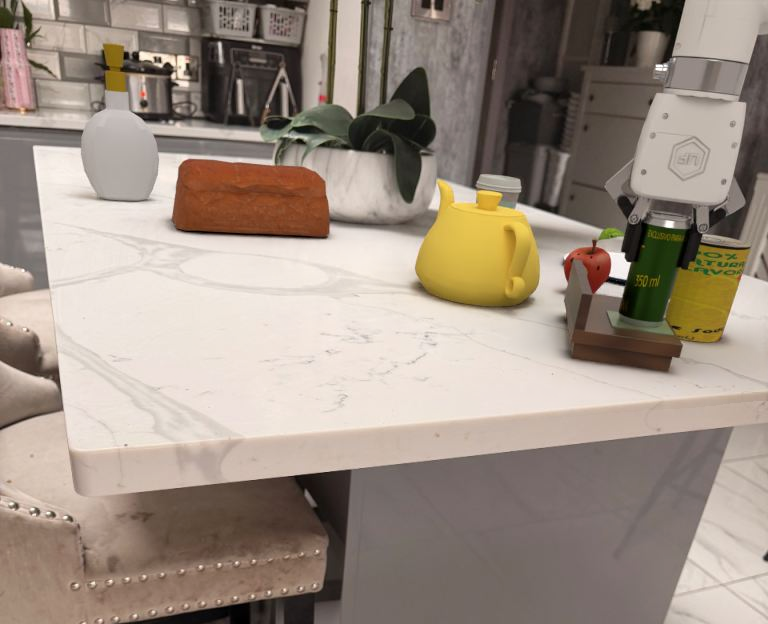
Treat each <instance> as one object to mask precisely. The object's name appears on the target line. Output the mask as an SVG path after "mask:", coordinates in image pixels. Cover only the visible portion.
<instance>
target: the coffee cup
mask: <svg viewBox="0 0 768 624" xmlns="http://www.w3.org/2000/svg"><path fill="white" fill-rule="evenodd" d="M475 187H476V192H477V191H481V190H483V191H493V192H498V193H501V194H502V198H501V200H500V202H499V204H498V206H501V207H506V208H511V209H515V210H516V207H517V203H518V200H519V196H520V193H521V192H522V183H521V179H520V178H517V177H514V176H513V177H512V176H507V175H501V174H490V173H488V174H487V173H483V174H480V175H479V177H478V179H477V181H476V184H475ZM475 203H478V201H477V195H476V196H475Z"/></svg>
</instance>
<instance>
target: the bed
mask: <svg viewBox="0 0 768 624" xmlns="http://www.w3.org/2000/svg"><path fill="white" fill-rule="evenodd" d="M566 285H567V286H566V290H565V295H564V299H563V302H564V308H565V315H564V320H565V323H567V327H568V332H569V338H570V339H569V340H570V342H571V347H570V358H572V359H580V360H585V361H593V362H599V363H605V364H612V365H620V366H627V367H631V368H638V369H646V370H652V371H653V370H655V371H660V372H665V373H669V371H670V367H671V363H672V361H673V358H676V359H680V357H681V354H682V350H683V347H684V344H683V342H682V341H681V339H680V338H678V336H677V334H676V333H675V331H674V330H673V328H672V326H671V325H670V323H669V321H668V320H667V318H666V317H665V320H664V322H663V323H662V324H661V325H660V326H659V327H655V328H648V327H640V326H635V325H631V324H628V323H625V322H623V321H621V320H620V319H619V313H618V312H619V308H620V304H621V300H622V296H613V295H606V294H599V293H595V294H593V293H592V291H591V288H590V284H589V281H588V278H587V275H586V272H585V269H584V266H583V262H582V260H575V259H573V262H572V266H571V271H570V276H569V280H568V283H567V284H566Z"/></svg>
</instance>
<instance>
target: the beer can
mask: <svg viewBox="0 0 768 624" xmlns="http://www.w3.org/2000/svg"><path fill="white" fill-rule="evenodd" d="M644 214H645V215H644V216H643V217H642V218H641V219H642V220H641V224H640V225H641V226H642V232H641V236H640V239H639V243H638V247H637V251H636V255H635V259H634V262H633V261H632V263H631V264H630V268H629V272H628V276H627V280H626V283H625V284H624V288H623V292H622V296H621V298H622V300H621V304H620V308H619V312H618V313H619V319H620V320H621V321H623V322H625V323H628V324H631V325H635V326H640V327H648V328H655V327H659V326H660V325H661V324H662V323H663V322H664V320H665V317H666V314H667V310H668V307H669V303H670V300H671V296H672V293H673V289H674V285H675V282H676V278H677V275H678V271H679V268H680V264H681V261H682V257H683V254H684V250H685V247H686V243H687V240H688V236H689V233H690V229H691V227H690V226H691V221H692V217H691V216H689V215H685V214H681V213H676V212H672V211H665V210H663V211H662V210H645V212H644Z"/></svg>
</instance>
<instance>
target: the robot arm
mask: <svg viewBox="0 0 768 624" xmlns="http://www.w3.org/2000/svg"><path fill="white" fill-rule="evenodd" d="M683 5H684V6H683V9H682V14H681V18H680V22H679V26H678V29H677V34H676V37H675V42H674V46H673V50H672V54H671V57H670V58H669V61H667V62H663V63H655V64H654V67H653V71H652V75H651V77H652V79H655V80H658V81H660V82H661V83H662V84H663V85H662V88H663V90H662V92H656V93H655V95H654V98H653V100H652V102H651V105H650V107H649V108H648V112H647V115H646V118H645V119H644V122H643V126H642V128H641V132H640V135H639V138H638V141H637V144H636V148H635V151H634V154H633V157H632V159H631V160H629V161H628V162H627V163H626V164H625V165H623V167H622V168H620V170H618V171H617V172H616V173H615V174H614V175H612V176H611V177H610V178H608V180H607V181H606V182H605V183H604V189H605V190H606V191H607V193H608V194H609V195H610V197H611V198H612V199H613V201H614V202H615V203H616V205H617V206H618V208H619V209H620V211H621V213H622V214H623V215H624V217H625V219H626V220H627V222H626V223H627V224H626V227H625V232H624V233H625V235H624V236H623V238H622V243H621V246H620V247H621V248H620V253H623V254H625V257H624V258H625V260H626V261H627V262H631V263H632V261H633V262H634V259H635V255H636V251H637V247H638V243H639V239H640V236H641V232H642V226H641V225H640V224H641V221H642V219H643V215H644V214H645V213H646V211H647V209H648V207H649V205H650V204H651V202H652V200H660V201H666V202H672V203H673V202H674V203H682V204H690V205H691V216H692V217H691V219H692V223H690V227H691V229H690V233H689V236H688V240H687V243H686V247H685V250H684V254H683V257H682V261H681V264H680V268H681V269H683V270H687V269H688V267H689V263H690V261H691V262H694V261H695V259H696V256H697V253H698V249H699V246H700V243H701V239H702V236H703V234H707V232H708V231H709V229H711V228H712V227H714V226H715V225H717V224H718V223H720V222H721V221H722V220H725V218H726V217H728V216H730V215H732V214H734V213H735V212H736V211H738V210H740V209H742V208H743V207H745V205H746V199H745V197H744V194H743V192H742V190H741V188H740V186H739V183H738V182H737V181H738V180H736V178H735V177H736V176H735V170H736V165H737V161H738V156H739V152H740V147H741V142H742V137H743V131H744V127H745V120H746V112H747V102H744V101H739V100H740V97H741V93H742V89H743V86H744V84H745V80H746V76H747V73H748V70H749V65H750V62H751V58H752V56H753V52H754V48H755V45H756V41H757V38H758V36H760V35H761V36H763V35H764V36H765V35H766V36H767V35H768V0H685V1H684V4H683ZM626 182H627V186H628V188H629V189H630V190H631V191H632V192H633V193H635V194H636V196H635V197H634V200H633V201H632V202H631V199H629V198H628V196H627V194H625V192H624V191H623V189H622V188H623V185H624V183H626ZM716 205H718V206H716ZM709 206H715V207H713V208H712V209H710V207H709ZM709 209H710V210H709Z"/></svg>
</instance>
